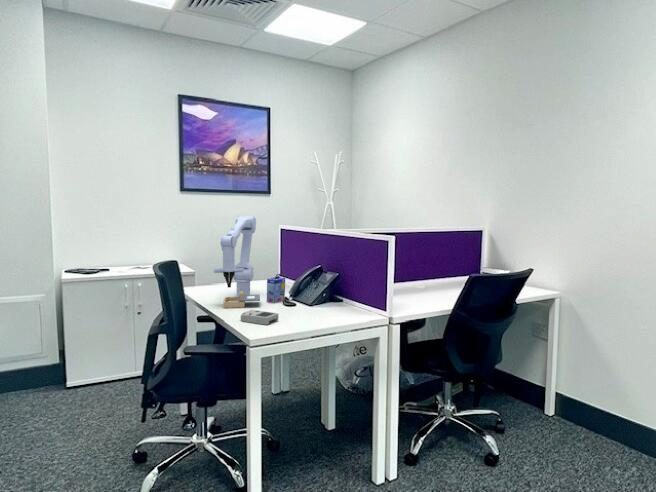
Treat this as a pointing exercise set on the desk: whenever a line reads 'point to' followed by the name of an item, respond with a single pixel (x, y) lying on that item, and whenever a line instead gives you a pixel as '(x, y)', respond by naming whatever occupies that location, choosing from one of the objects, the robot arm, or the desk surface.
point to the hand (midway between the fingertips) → (229, 287)
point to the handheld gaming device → (259, 317)
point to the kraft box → (233, 303)
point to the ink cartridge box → (275, 289)
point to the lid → (249, 297)
